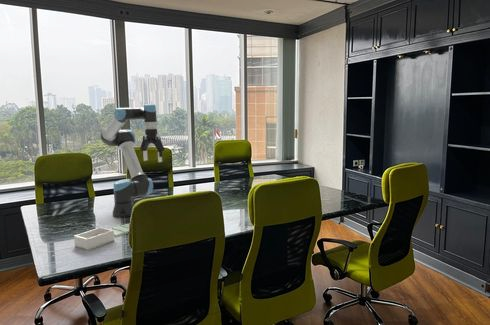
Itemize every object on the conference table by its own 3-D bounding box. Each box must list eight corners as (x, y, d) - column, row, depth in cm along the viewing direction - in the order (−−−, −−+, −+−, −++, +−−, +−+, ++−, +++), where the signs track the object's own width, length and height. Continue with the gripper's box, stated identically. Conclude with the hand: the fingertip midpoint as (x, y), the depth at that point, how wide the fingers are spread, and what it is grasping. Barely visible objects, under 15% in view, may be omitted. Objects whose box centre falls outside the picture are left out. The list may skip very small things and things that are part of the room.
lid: (103, 233, 213) (102, 220, 212) (133, 223, 230) (132, 211, 229) (116, 236, 207) (115, 224, 206) (145, 226, 224) (144, 214, 223)
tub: (75, 246, 193) (74, 235, 192) (101, 237, 206) (101, 227, 205) (87, 250, 187) (86, 239, 186) (114, 241, 200) (113, 230, 199)
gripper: (133, 128, 241) (135, 160, 245) (160, 129, 228) (162, 163, 231) (142, 127, 248) (144, 159, 251) (169, 128, 234) (170, 161, 237)
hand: (152, 161), depth 241 cm, fingers open, 13 cm apart
